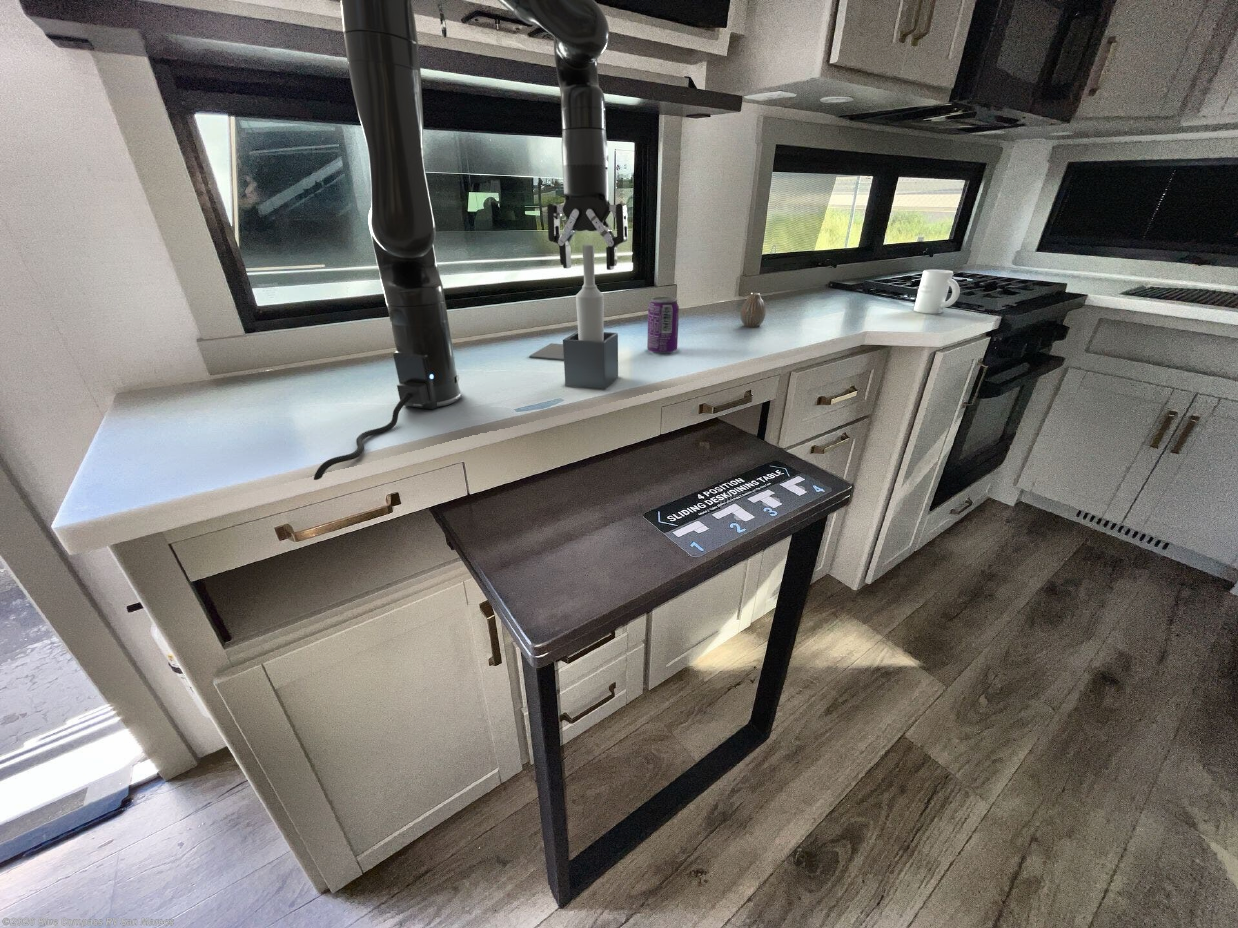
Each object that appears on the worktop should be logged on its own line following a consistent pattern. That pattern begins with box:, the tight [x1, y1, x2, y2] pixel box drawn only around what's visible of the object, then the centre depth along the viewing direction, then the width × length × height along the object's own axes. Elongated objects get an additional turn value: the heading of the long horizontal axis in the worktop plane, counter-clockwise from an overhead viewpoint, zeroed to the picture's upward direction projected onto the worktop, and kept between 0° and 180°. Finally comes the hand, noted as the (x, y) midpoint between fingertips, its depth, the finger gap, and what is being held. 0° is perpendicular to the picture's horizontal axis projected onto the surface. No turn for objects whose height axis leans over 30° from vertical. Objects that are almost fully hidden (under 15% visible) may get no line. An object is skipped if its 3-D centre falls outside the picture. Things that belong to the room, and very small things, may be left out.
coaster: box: [528, 343, 564, 362], centre depth 120 cm, size 12×12×1 cm
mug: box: [913, 269, 961, 315], centre depth 156 cm, size 8×12×12 cm
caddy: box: [562, 330, 619, 391], centre depth 99 cm, size 8×8×9 cm
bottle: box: [575, 244, 605, 342], centre depth 95 cm, size 5×5×25 cm
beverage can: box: [646, 296, 680, 355], centre depth 118 cm, size 7×7×12 cm
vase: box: [740, 292, 767, 328], centre depth 142 cm, size 7×7×9 cm
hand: (588, 268), depth 91 cm, fingers open, 8 cm apart
